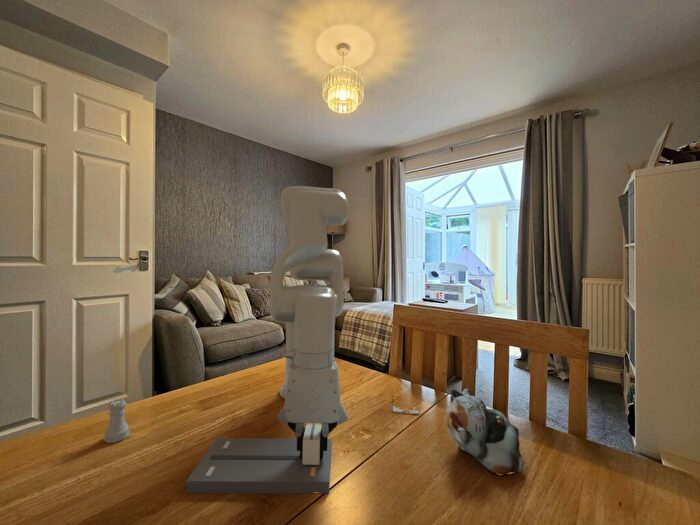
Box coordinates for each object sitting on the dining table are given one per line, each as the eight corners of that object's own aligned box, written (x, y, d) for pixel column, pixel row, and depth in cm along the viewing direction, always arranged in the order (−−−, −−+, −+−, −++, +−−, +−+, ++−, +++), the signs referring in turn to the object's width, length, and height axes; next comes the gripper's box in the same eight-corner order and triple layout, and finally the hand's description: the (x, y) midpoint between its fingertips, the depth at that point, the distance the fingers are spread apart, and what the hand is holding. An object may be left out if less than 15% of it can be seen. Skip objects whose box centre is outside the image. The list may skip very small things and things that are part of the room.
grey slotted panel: (186, 492, 51) (186, 480, 51) (216, 447, 63) (216, 437, 63) (329, 493, 51) (329, 481, 51) (331, 448, 63) (331, 438, 63)
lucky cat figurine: (525, 488, 53) (489, 420, 53) (460, 485, 60) (428, 425, 59) (524, 425, 66) (495, 370, 65) (471, 428, 72) (444, 378, 72)
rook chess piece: (115, 445, 63) (115, 407, 63) (98, 442, 64) (98, 404, 63) (134, 433, 67) (135, 397, 67) (118, 430, 68) (118, 395, 68)
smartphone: (416, 389, 92) (420, 414, 77) (416, 391, 92) (420, 416, 77) (391, 387, 93) (391, 411, 78) (391, 389, 93) (391, 414, 78)
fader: (302, 464, 55) (302, 438, 54) (305, 447, 60) (306, 423, 59) (319, 464, 55) (319, 438, 55) (321, 447, 60) (321, 423, 60)
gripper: (265, 363, 53) (263, 467, 53) (358, 365, 53) (356, 467, 54) (274, 350, 60) (273, 441, 61) (356, 351, 61) (354, 441, 61)
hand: (312, 452), depth 57 cm, fingers closed on fader, 3 cm apart
